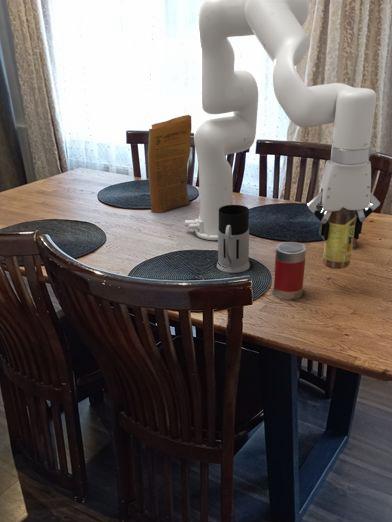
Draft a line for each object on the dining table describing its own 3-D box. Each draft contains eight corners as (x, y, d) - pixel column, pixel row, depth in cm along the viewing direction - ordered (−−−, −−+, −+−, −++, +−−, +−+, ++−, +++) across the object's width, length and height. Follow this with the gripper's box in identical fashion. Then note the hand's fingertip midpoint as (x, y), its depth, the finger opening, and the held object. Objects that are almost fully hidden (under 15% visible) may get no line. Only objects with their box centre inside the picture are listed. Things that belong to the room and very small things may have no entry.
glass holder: (252, 259, 141) (253, 204, 133) (244, 283, 130) (245, 224, 122) (220, 257, 143) (219, 203, 135) (209, 281, 132) (208, 223, 123)
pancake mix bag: (200, 202, 182) (198, 114, 166) (156, 216, 172) (149, 124, 156) (187, 198, 186) (184, 112, 170) (143, 211, 176) (136, 121, 160)
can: (276, 300, 122) (278, 253, 116) (271, 287, 128) (273, 241, 121) (304, 299, 122) (309, 251, 116) (299, 286, 128) (302, 240, 122)
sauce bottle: (350, 271, 119) (363, 182, 108) (322, 269, 121) (331, 181, 110) (349, 259, 125) (361, 173, 114) (322, 257, 126) (331, 172, 115)
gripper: (385, 149, 112) (372, 229, 122) (303, 152, 112) (297, 233, 122) (397, 157, 106) (383, 242, 116) (311, 161, 106) (304, 246, 116)
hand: (339, 237), depth 119 cm, fingers closed on sauce bottle, 6 cm apart
